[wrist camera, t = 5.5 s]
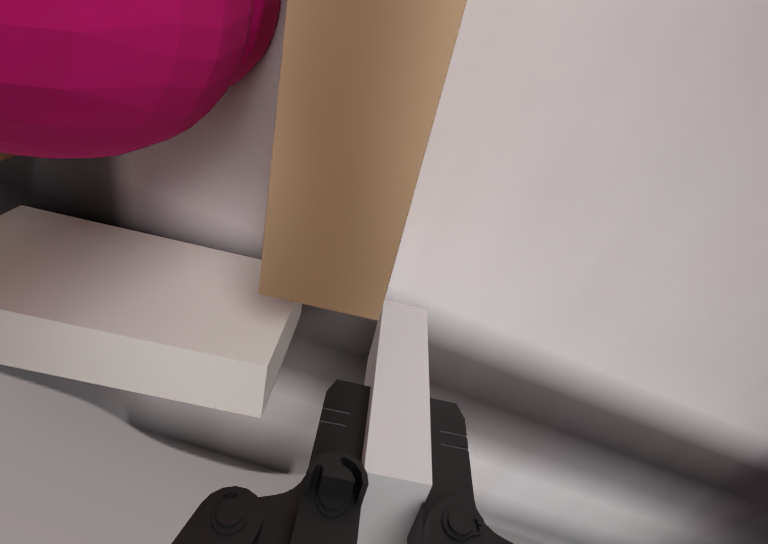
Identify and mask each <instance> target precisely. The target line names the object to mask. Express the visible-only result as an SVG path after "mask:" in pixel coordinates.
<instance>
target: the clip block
mask: <svg viewBox="0 0 768 544" xmlns="http://www.w3.org/2000/svg"><path fill="white" fill-rule="evenodd" d="M466 2H467V0H287V8H286V18H285V28H284V38H283V48H282V58H281V68H280V78H279V89H278V99H277V109H276V119H275V129H274V139H273V149H272V159H271V169H270V179H269V189H268V199H267V209H266V219H265V229H264V239H263V249H262V259H261V269H260V279H259V289H258V294H261V295H266V296H270V297H275V298H279V299H284V300H288V301H293V302H297V303H301V304H306V305H310V306H315V307H319V308H324V309H328V310H333V311H337V312H342V313H346V314H351V315H355V316H360V317H364V318H369V319H373V320H378V321H379V317H380V314H381V310H382V306H383V303H384V299H385V295H386V292H387V288H388V285H389V281H390V277H391V274H392V270H393V267H394V263H395V259H396V256H397V252H398V248H399V245H400V241H401V238H402V234H403V230H404V227H405V223H406V219H407V216H408V212H409V209H410V205H411V201H412V198H413V194H414V190H415V187H416V183H417V180H418V176H419V172H420V169H421V165H422V161H423V158H424V154H425V151H426V147H427V143H428V140H429V136H430V133H431V129H432V125H433V122H434V118H435V114H436V111H437V107H438V104H439V100H440V96H441V93H442V89H443V85H444V82H445V78H446V75H447V71H448V67H449V64H450V60H451V56H452V53H453V49H454V46H455V42H456V38H457V35H458V31H459V28H460V24H461V20H462V17H463V13H464V9H465V6H466ZM13 156H16V155H13V154H7V153H2V152H0V161H2V160H5V159H8V158H10V157H13Z"/></svg>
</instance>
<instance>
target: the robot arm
mask: <svg viewBox="0 0 768 544" xmlns="http://www.w3.org/2000/svg"><path fill="white" fill-rule="evenodd" d="M466 435H467V434H466V425H465V419H464V417H463V415H462V413H461V411H460V409H459V408H458V406H457V404H456V403H451V402H447V401H442V400H437V399H432V398H430V394H429V363H428V332H427V309H424V308H420V307H415V306H411V305H406V304H402V303H397V302H393V301H388V300H384V303H383V306H382V310H381V314H380V317H379V321H378V323H377V327H376V330H375V334H374V338H373V342H372V345H371V349H370V353H369V356H368V361H367V368H366V375H365V382H364V385H360V384H355V383H351V382H346V381H341V380H336V381H335V382H334V383H333V385H332V386H331V387H330V388H329V389H328V390H327V392H326V396H325V400H324V404H323V409H322V413H321V417H320V421H319V426H318V430H317V434H316V438H315V442H314V447H313V451H312V455H311V459H310V463H309V468H308V470H307V472H306V476H305V477H304V478H303V480H302V481H301V483H299V484H298V485H297V486H296V487H295V488H293V489H291V490H289V491H288V492H285V493H282V494H278V495H272V496H264V497H257V496H256V495H255V494H254V493H252V492H251V491H250V490H248V489H246V488H241V487H237V486H233V487H226V488H222V489H220V490H217V491H215V492H214V493H212V494H210V495H209V496H208V497H207V498H206V499H205V500H204V501H203V502H202V503H201V504H200V505H199V507H198V508H197V510H196V511H195V512H194V514H193V515H192V517H191V518H190V519H189V521H188V522H187V523H186V525H185V526H184V527H183V529H182V530H181V532H180V533H179V534H178V536H177V537H176V538H175V540H174V541H173V543H172V544H406V543H407V544H513V543H511V542H509V541H507V540H506V539H504V538H502V537H500V536H499V535H497V534H496V533H494V532H493V531H492V530H491V529H490V528H489V527H488V526H487V525H486V524H485V523H484V520H483V518H482V517H481V515H480V514H479V513H478V511H477V509H476V505H475V501H474V494H473V486H472V477H471V468H470V460H469V452H468V443H467V438H466Z"/></svg>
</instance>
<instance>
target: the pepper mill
mask: <svg viewBox="0 0 768 544" xmlns="http://www.w3.org/2000/svg"><path fill="white" fill-rule="evenodd" d="M279 7H280V0H0V152H2V153H7V154H13V155H22V156H31V157H40V158H49V159H62V158H98V157H108V156H117V155H121V154H124V153H128V152H131V151H134V150H138V149H141V148H144V147H147V146H150V145H153V144H156V143H159V142H162V141H165V140H168V139H171V138H172V137H174V136H176V135H178V134H180V133H182V132H183V131H185V130H187V129H189V128H190V127H192V126H193V125H194V124H195V123H196V122H198V121H199V120H200V119H201V118H202V117H204V116H205V115H206V114H207V113H208V112H209V111H210V110H211V109H212V108H213V107H214V105H215V104H216V103H217V102H218V101H219V99H220V98H221V97H222V96H223V95H224V93H225V92H226V91H227V89H228V88H229V86H231V85H233V84H235V83H236V82H238V81H239V80H241V79H242V78H243V77H244V76H245V75H247V74H248V73H249V72H250V70H251V69H252V68H253V67H254V66H255V64H256V63H257V62H258V61H259V60H260V58H261V57H262V56H263V54H264V52H265V51H266V49H267V47H268V45H269V42H270V40H271V38H272V36H273V33H274V29H275V26H276V22H277V19H278V15H279Z"/></svg>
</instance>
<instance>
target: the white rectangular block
mask: <svg viewBox="0 0 768 544" xmlns="http://www.w3.org/2000/svg"><path fill="white" fill-rule="evenodd" d="M260 269H261V260H260V259H256V258H251V257H247V256H242V255H238V254H234V253H229V252H225V251H221V250H216V249H212V248H207V247H203V246H199V245H194V244H190V243H185V242H181V241H177V240H172V239H168V238H164V237H159V236H155V235H150V234H146V233H142V232H137V231H133V230H128V229H124V228H120V227H115V226H111V225H106V224H102V223H98V222H93V221H89V220H85V219H80V218H76V217H71V216H67V215H63V214H58V213H54V212H49V211H45V210H41V209H36V208H32V207H28V206H23V205H20V206H18V207H16V208H14V209H12V210H10V211H8V212H6V213H4V214H2V215H0V364H1V365H6V366H11V367H16V368H21V369H25V370H30V371H35V372H40V373H45V374H50V375H54V376H59V377H64V378H69V379H74V380H78V381H83V382H88V383H93V384H98V385H103V386H107V387H112V388H117V389H122V390H127V391H131V392H136V393H141V394H146V395H151V396H156V397H160V398H165V399H170V400H175V401H180V402H184V403H189V404H194V405H199V406H204V407H209V408H213V409H218V410H223V411H228V412H233V413H237V414H242V415H247V416H252V417H257V418H261V417H262V414H263V412H264V409H265V406H266V404H267V401H268V399H269V396H270V393H271V391H272V388H273V386H274V383H275V380H276V378H277V375H278V373H279V370H280V367H281V365H282V362H283V359H284V357H285V354H286V352H287V349H288V346H289V344H290V341H291V339H292V336H293V333H294V331H295V328H296V326H297V323H298V320H299V318H300V315H301V310H302V304H301V303H297V302H293V301H288V300H284V299H279V298H275V297H270V296H266V295H261V294H258V289H259V279H260Z"/></svg>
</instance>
